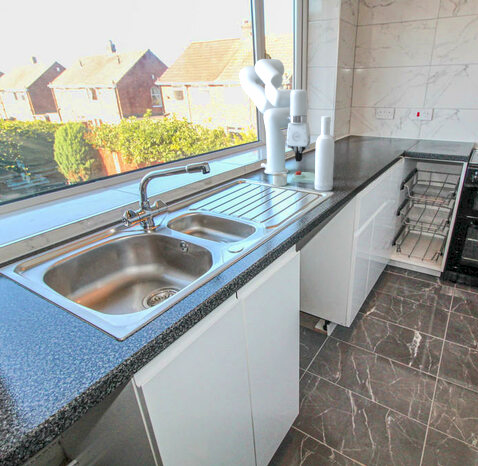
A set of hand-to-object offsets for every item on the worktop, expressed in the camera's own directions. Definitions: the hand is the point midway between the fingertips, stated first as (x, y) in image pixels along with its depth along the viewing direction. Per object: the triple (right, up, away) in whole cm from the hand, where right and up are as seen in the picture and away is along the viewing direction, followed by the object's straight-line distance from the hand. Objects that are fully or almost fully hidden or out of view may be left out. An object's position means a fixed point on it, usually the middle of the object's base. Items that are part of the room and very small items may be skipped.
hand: (298, 161), depth 154 cm
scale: (+7, -8, +5) cm, 12 cm away
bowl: (-9, -11, -2) cm, 15 cm away
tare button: (0, -6, +3) cm, 7 cm away
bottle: (+11, -14, -9) cm, 20 cm away
